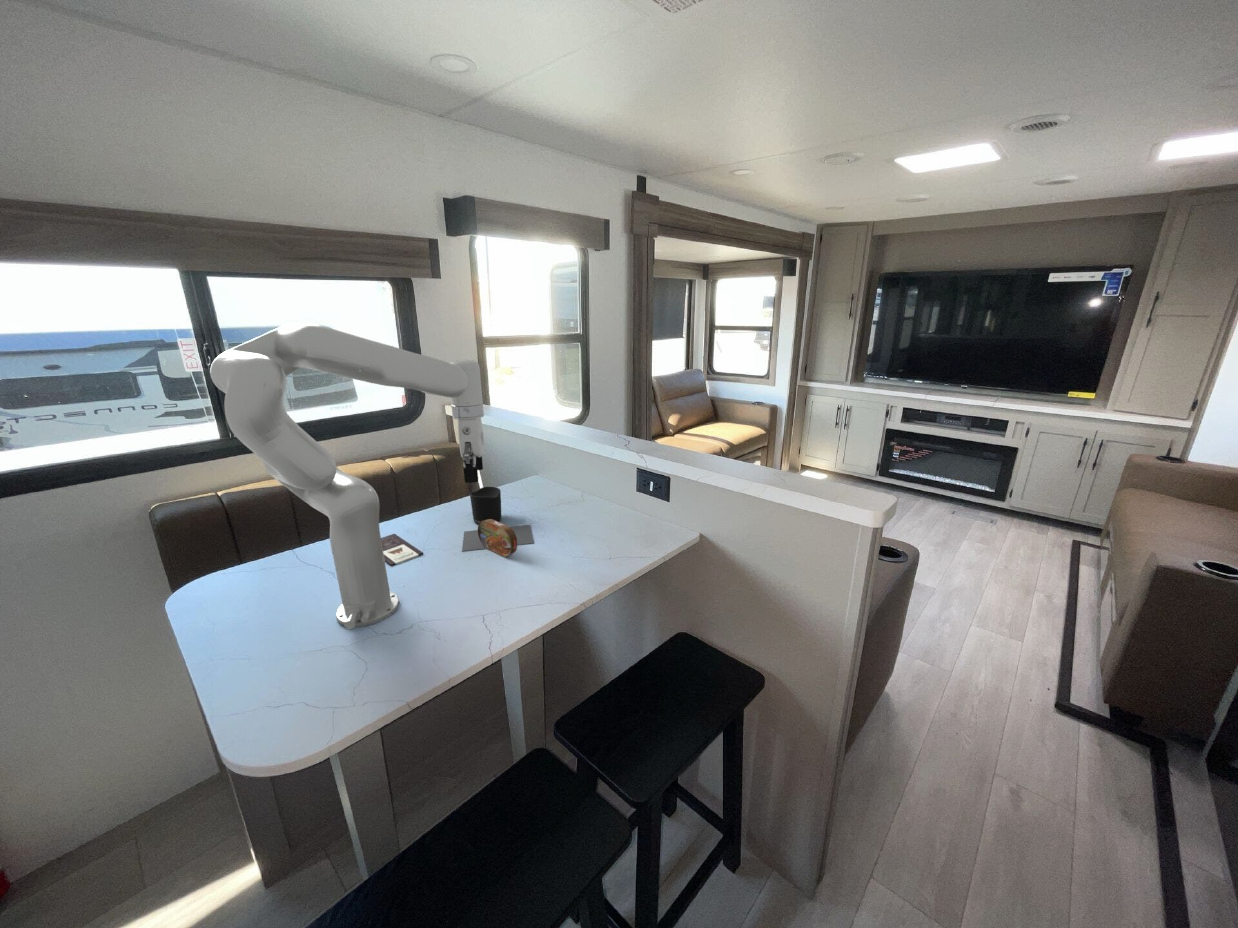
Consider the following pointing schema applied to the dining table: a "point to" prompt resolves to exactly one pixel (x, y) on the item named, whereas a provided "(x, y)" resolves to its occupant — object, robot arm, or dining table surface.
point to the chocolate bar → (398, 550)
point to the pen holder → (486, 504)
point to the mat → (474, 543)
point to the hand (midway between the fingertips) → (474, 475)
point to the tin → (497, 537)
